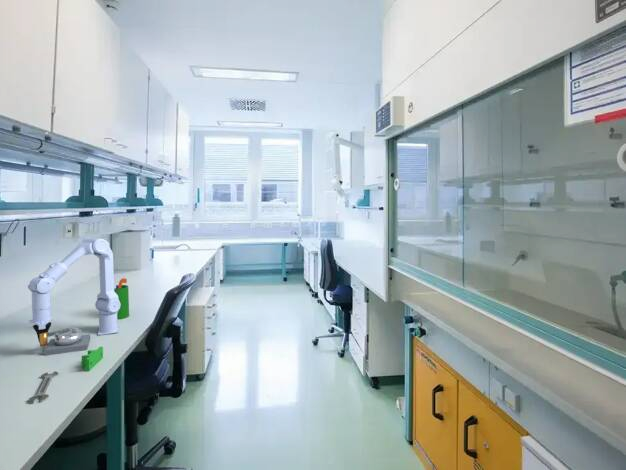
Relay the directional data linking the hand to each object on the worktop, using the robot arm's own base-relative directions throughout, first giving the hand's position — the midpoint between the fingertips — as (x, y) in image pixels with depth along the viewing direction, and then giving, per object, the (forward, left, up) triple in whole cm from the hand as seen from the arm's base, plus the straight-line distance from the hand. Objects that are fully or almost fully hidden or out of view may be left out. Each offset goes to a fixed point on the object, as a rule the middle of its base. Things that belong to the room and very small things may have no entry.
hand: (42, 342), depth 138 cm
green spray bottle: (-39, +25, -4) cm, 47 cm away
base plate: (-2, +8, -4) cm, 9 cm away
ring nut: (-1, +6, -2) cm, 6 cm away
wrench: (+33, +6, -5) cm, 34 cm away
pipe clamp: (+20, +18, -4) cm, 27 cm away
